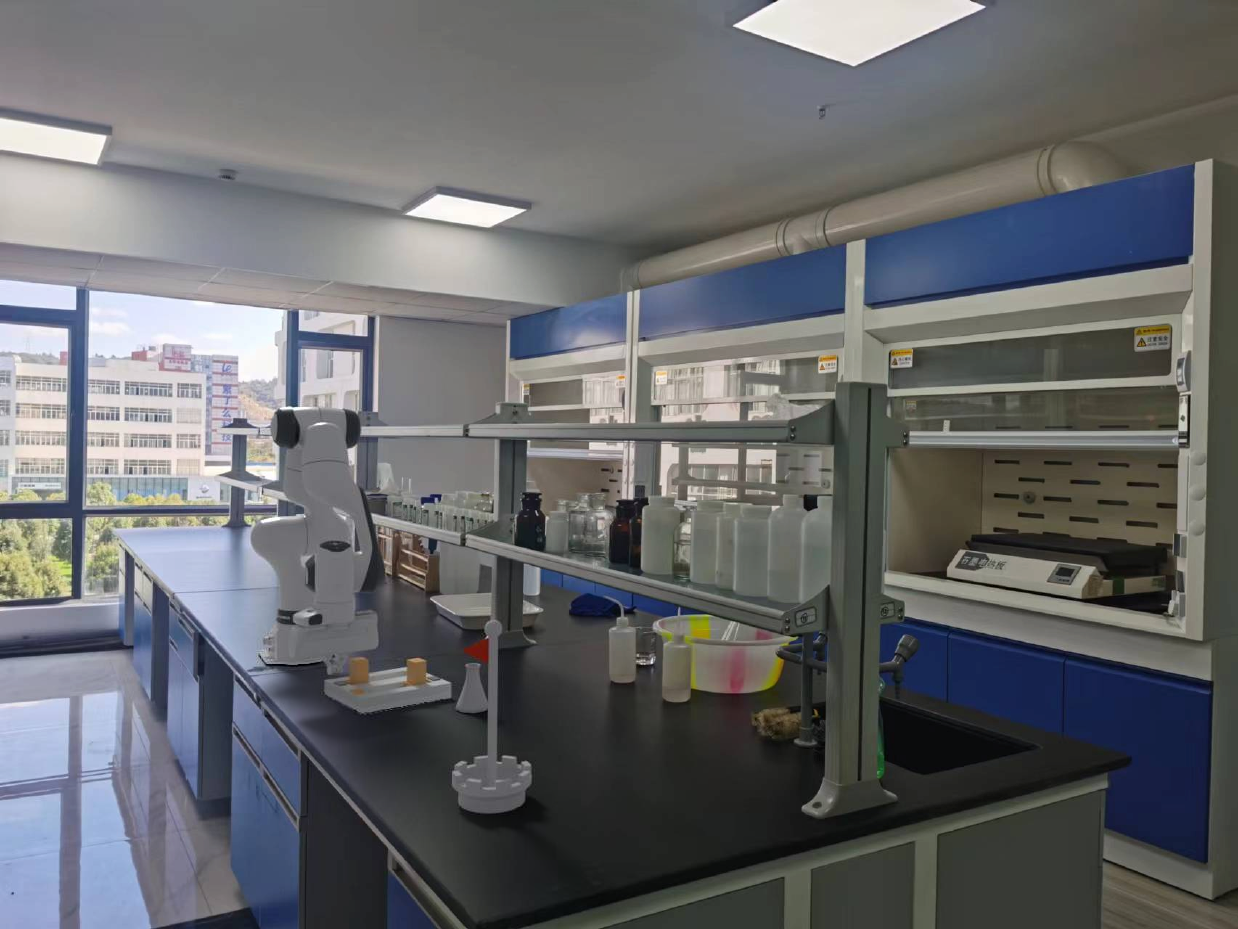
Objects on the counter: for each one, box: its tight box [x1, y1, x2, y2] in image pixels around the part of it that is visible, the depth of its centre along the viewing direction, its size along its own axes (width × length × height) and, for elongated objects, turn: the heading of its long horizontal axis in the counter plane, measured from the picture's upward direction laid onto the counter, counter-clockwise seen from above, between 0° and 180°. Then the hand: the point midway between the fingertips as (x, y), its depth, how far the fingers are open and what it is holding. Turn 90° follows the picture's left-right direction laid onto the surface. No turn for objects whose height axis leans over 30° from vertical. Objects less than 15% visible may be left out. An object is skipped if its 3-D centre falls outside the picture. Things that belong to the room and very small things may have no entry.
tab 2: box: [405, 657, 427, 687], centre depth 214 cm, size 4×4×7 cm
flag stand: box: [451, 619, 532, 814], centre depth 153 cm, size 13×13×30 cm
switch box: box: [323, 666, 452, 713], centre depth 215 cm, size 20×22×4 cm
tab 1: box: [347, 656, 370, 685], centre depth 215 cm, size 4×4×7 cm
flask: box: [454, 662, 488, 714], centre depth 205 cm, size 7×7×10 cm
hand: (334, 673), depth 211 cm, fingers closed
